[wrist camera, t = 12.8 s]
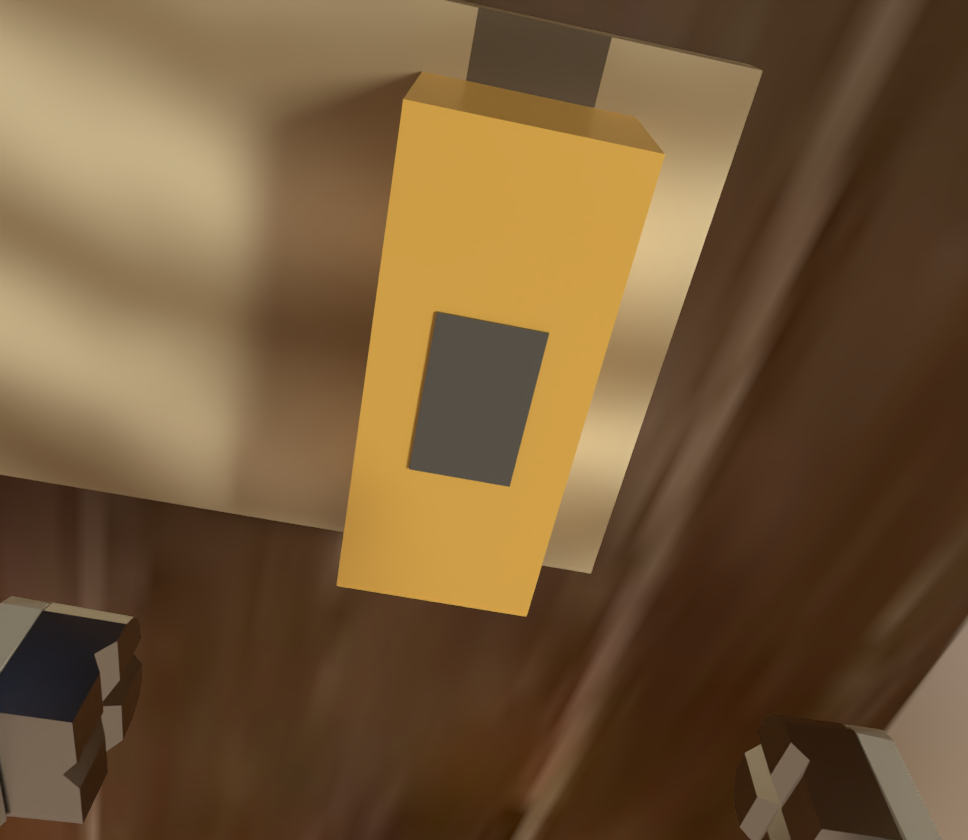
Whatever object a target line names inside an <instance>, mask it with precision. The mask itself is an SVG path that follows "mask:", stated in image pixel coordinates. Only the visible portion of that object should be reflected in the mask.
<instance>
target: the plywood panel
mask: <svg viewBox="0 0 968 840" xmlns="http://www.w3.org/2000/svg"><path fill="white" fill-rule="evenodd" d="M422 71H423V72H428V73H433V74H437V75H442V76H447V77H451V78H456V79H461V80H465V81H470V82H475V83H479V84H484V85H489V86H493V87H498V88H503V89H507V90H512V91H517V92H521V93H526V94H531V95H536V96H540V97H545V98H550V99H554V100H559V101H564V102H568V103H573V104H578V105H582V106H587V107H592V108H596V109H601V110H606V111H610V112H615V113H620V114H624V115H629V116H634V117H636V118H637V119H638V121H639V122H640V123H641V124H642V126H643V127H644V128H645V129H646V131H647V132H648V133H649V134H650V136H651V137H652V138H653V139H654V141H655V142H656V143H657V144H658V146H659V147H660V148H661V149H662V151H663V152H664V153H665V157H664V160H663V164H662V167H661V170H660V174H659V177H658V180H657V184H656V187H655V190H654V194H653V197H652V200H651V204H650V207H649V210H648V214H647V217H646V220H645V224H644V227H643V230H642V234H641V237H640V240H639V244H638V247H637V250H636V253H635V257H634V260H633V263H632V267H631V270H630V273H629V277H628V280H627V283H626V287H625V290H624V293H623V297H622V300H621V303H620V307H619V310H618V313H617V317H616V320H615V323H614V327H613V330H612V333H611V337H610V340H609V343H608V347H607V350H606V353H605V357H604V360H603V363H602V367H601V370H600V373H599V377H598V380H597V383H596V387H595V390H594V393H593V397H592V400H591V403H590V407H589V410H588V413H587V417H586V420H585V423H584V427H583V430H582V433H581V437H580V440H579V443H578V447H577V450H576V453H575V457H574V460H573V463H572V467H571V470H570V473H569V477H568V480H567V483H566V487H565V490H564V493H563V497H562V500H561V503H560V506H559V510H558V513H557V516H556V520H555V523H554V526H553V530H552V533H551V536H550V540H549V543H548V546H547V550H546V553H545V556H544V560H543V563H542V565H543V566H549V567H555V568H561V569H567V570H573V571H579V572H585V573H591V571H592V568H593V565H594V562H595V559H596V556H597V554H598V551H599V548H600V545H601V542H602V539H603V536H604V533H605V530H606V527H607V524H608V521H609V518H610V516H611V513H612V510H613V507H614V504H615V501H616V498H617V495H618V492H619V489H620V486H621V483H622V481H623V478H624V475H625V472H626V469H627V466H628V463H629V460H630V457H631V454H632V451H633V448H634V445H635V443H636V440H637V437H638V434H639V431H640V428H641V425H642V422H643V419H644V416H645V413H646V410H647V407H648V405H649V402H650V399H651V396H652V393H653V390H654V387H655V384H656V381H657V378H658V375H659V372H660V370H661V367H662V364H663V361H664V358H665V355H666V352H667V349H668V346H669V343H670V340H671V337H672V334H673V332H674V329H675V326H676V323H677V320H678V317H679V314H680V311H681V308H682V305H683V302H684V299H685V296H686V294H687V291H688V288H689V285H690V282H691V279H692V276H693V273H694V270H695V267H696V264H697V261H698V258H699V256H700V253H701V250H702V247H703V244H704V241H705V238H706V235H707V232H708V229H709V226H710V223H711V221H712V218H713V215H714V212H715V209H716V206H717V203H718V200H719V197H720V194H721V191H722V188H723V185H724V183H725V180H726V177H727V174H728V171H729V168H730V165H731V162H732V159H733V156H734V153H735V150H736V147H737V145H738V142H739V139H740V136H741V133H742V130H743V127H744V124H745V121H746V118H747V115H748V112H749V110H750V107H751V104H752V101H753V98H754V95H755V92H756V89H757V86H758V83H759V80H760V77H761V74H762V72H763V71H762V70H760V69H758V68H756V67H754V66H751V65H749V64H745V63H741V62H736V61H732V60H727V59H723V58H718V57H714V56H709V55H705V54H700V53H696V52H691V51H687V50H682V49H678V48H673V47H669V46H664V45H660V44H655V43H651V42H646V41H641V40H637V39H632V38H628V37H623V36H619V35H614V34H610V33H605V32H601V31H596V30H592V29H587V28H583V27H578V26H574V25H569V24H565V23H560V22H556V21H551V20H547V19H542V18H538V17H533V16H529V15H524V14H520V13H515V12H511V11H506V10H502V9H497V8H493V7H488V6H484V5H479V4H474V3H470V2H465V1H461V0H0V475H6V476H12V477H17V478H23V479H29V480H35V481H41V482H47V483H53V484H59V485H65V486H71V487H77V488H83V489H89V490H95V491H101V492H107V493H113V494H119V495H125V496H131V497H137V498H143V499H149V500H155V501H161V502H167V503H173V504H179V505H185V506H191V507H197V508H203V509H209V510H215V511H221V512H227V513H233V514H239V515H245V516H251V517H256V518H262V519H268V520H274V521H280V522H286V523H292V524H298V525H304V526H310V527H316V528H322V529H328V530H334V531H340V532H344V528H345V521H346V513H347V506H348V499H349V491H350V484H351V477H352V469H353V462H354V455H355V447H356V440H357V433H358V426H359V418H360V411H361V404H362V396H363V389H364V382H365V374H366V367H367V360H368V352H369V345H370V338H371V331H372V323H373V316H374V309H375V301H376V294H377V287H378V279H379V272H380V265H381V258H382V250H383V243H384V236H385V228H386V221H387V214H388V206H389V199H390V192H391V184H392V177H393V170H394V163H395V155H396V148H397V141H398V133H399V126H400V119H401V111H402V104H403V99H404V97H405V96H406V94H407V93H408V91H409V90H410V88H411V87H412V86H413V84H414V83H415V81H416V80H417V78H418V77H419V75H420V74H421V72H422Z"/></svg>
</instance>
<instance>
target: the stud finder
mask: <svg viewBox="0 0 968 840" xmlns="http://www.w3.org/2000/svg"><path fill="white" fill-rule="evenodd" d="M664 157H665V153H664V152H663V151H662V149H661V148H660V147H659V146H658V144H657V143H656V142H655V141H654V139H653V138H652V137H651V136H650V134H649V133H648V132H647V131H646V129H645V128H644V127H643V126H642V124H641V123H640V122H639V121H638V119H637V118H636V117H634V116H629V115H624V114H620V113H615V112H610V111H606V110H601V109H596V108H592V107H587V106H582V105H578V104H573V103H568V102H564V101H559V100H554V99H550V98H545V97H540V96H536V95H531V94H526V93H521V92H517V91H512V90H507V89H503V88H498V87H493V86H489V85H484V84H479V83H475V82H470V81H465V80H461V79H456V78H451V77H447V76H442V75H437V74H433V73H428V72H423V71H422V72H421V74H420V75H419V77H418V78H417V80H416V81H415V83H414V84H413V86H412V87H411V88H410V90H409V91H408V93H407V94H406V96H405V97H404V99H403V104H402V111H401V119H400V126H399V133H398V141H397V148H396V155H395V163H394V170H393V177H392V184H391V192H390V199H389V206H388V214H387V221H386V228H385V236H384V243H383V250H382V258H381V265H380V272H379V279H378V287H377V294H376V301H375V309H374V316H373V323H372V331H371V338H370V345H369V352H368V360H367V367H366V374H365V382H364V389H363V396H362V404H361V411H360V418H359V426H358V433H357V440H356V447H355V455H354V462H353V469H352V477H351V484H350V491H349V499H348V506H347V513H346V521H345V528H344V535H343V542H342V550H341V557H340V564H339V572H338V579H337V586H340V587H346V588H353V589H359V590H365V591H371V592H377V593H383V594H390V595H396V596H402V597H408V598H414V599H421V600H427V601H433V602H439V603H445V604H451V605H458V606H464V607H470V608H476V609H482V610H488V611H495V612H501V613H507V614H513V615H519V616H527V613H528V610H529V606H530V603H531V600H532V596H533V593H534V590H535V586H536V583H537V580H538V576H539V573H540V570H541V566H542V563H543V560H544V556H545V553H546V550H547V546H548V543H549V540H550V536H551V533H552V530H553V526H554V523H555V520H556V516H557V513H558V510H559V506H560V503H561V500H562V497H563V493H564V490H565V487H566V483H567V480H568V477H569V473H570V470H571V467H572V463H573V460H574V457H575V453H576V450H577V447H578V443H579V440H580V437H581V433H582V430H583V427H584V423H585V420H586V417H587V413H588V410H589V407H590V403H591V400H592V397H593V393H594V390H595V387H596V383H597V380H598V377H599V373H600V370H601V367H602V363H603V360H604V357H605V353H606V350H607V347H608V343H609V340H610V337H611V333H612V330H613V327H614V323H615V320H616V317H617V313H618V310H619V307H620V303H621V300H622V297H623V293H624V290H625V287H626V283H627V280H628V277H629V273H630V270H631V267H632V263H633V260H634V257H635V253H636V250H637V247H638V244H639V240H640V237H641V234H642V230H643V227H644V224H645V220H646V217H647V214H648V210H649V207H650V204H651V200H652V197H653V194H654V190H655V187H656V184H657V180H658V177H659V174H660V170H661V167H662V164H663V160H664Z"/></svg>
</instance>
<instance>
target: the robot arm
mask: <svg viewBox="0 0 968 840" xmlns="http://www.w3.org/2000/svg"><path fill="white" fill-rule="evenodd" d="M140 639H141V634H140V622H139V619H137V618H135V617H131V616H125V615H119V614H114V613H108V612H103V611H97V610H92V609H86V608H80V607H75V606H69V605H64V604H58V603H50V602H44V601H38V600H32V599H26V598H21V597H15V596H10V597H9V598H7V599H6V600H5V601H3V602H2V603H0V826H1V825H2V824H3V823H4V822H6V820H7V817H6V816H14V817H24V818H33V819H43V820H53V821H62V822H72V823H81V824H83V822H84V820H85V818H86V816H87V814H88V812H89V810H90V808H91V806H92V804H93V802H94V800H95V797H96V795H97V793H98V791H99V789H100V787H101V785H102V783H103V781H104V779H105V777H106V774H107V756H106V751H107V750H109V749H110V748H112V747H113V746H115V745H116V744H117V743H119V742H120V741H122V740H123V738H124V736H125V734H126V732H127V730H128V727H129V725H130V723H131V721H132V718H133V715H134V712H135V708H136V705H137V702H138V698H139V695H140V688H141V681H142V663H141V662H140V661H139V660H138V659H137V658H136V656H135V655H134V654H133V653H134V651H135V649H136V647H137V645H138V643H139V641H140ZM757 733H758V736H759V740H760V743H761V745H759V746H757V747H755V748H753V749H751V750H749V751H748V752H746V753H744V755H743V757H742V759H741V761H740V763H739V765H738V767H737V769H736V776H735V783H734V802H735V810H736V814H737V818H738V822H739V826H740V828H741V829H742V830H743V831H744V832H745V833H746V835H747V836H748V837H749V838H750V839H751V840H942V839H941V837H940V835H939V833H938V831H937V829H936V827H935V825H934V823H933V821H932V819H931V817H930V815H929V812H928V810H927V808H926V806H925V804H924V802H923V800H922V798H921V796H920V794H919V792H918V790H917V788H916V786H915V784H914V782H913V780H912V778H911V776H910V774H909V772H908V769H907V767H906V765H905V763H904V761H903V759H902V757H901V755H900V753H899V751H898V749H897V747H896V745H895V743H894V741H893V739H892V738H891V737H890V736H889V735H888V734H887V733H886V732H885V731H884V730H879V729H872V728H865V727H859V726H852V725H843V724H841V723H835V722H828V721H820V720H813V719H806V718H799V717H792V716H785V715H778V714H772V715H770V716H769V717H767V718H765V719H764V721H763V722H762V724H761V726H760V727H759V729H758V731H757Z"/></svg>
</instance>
